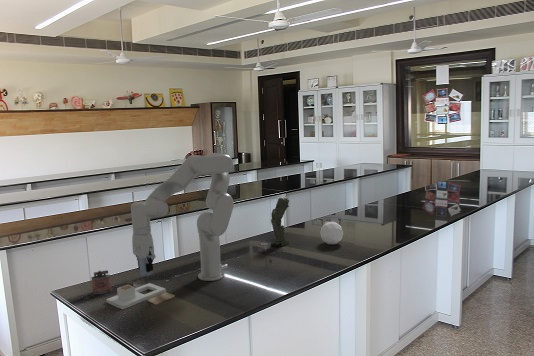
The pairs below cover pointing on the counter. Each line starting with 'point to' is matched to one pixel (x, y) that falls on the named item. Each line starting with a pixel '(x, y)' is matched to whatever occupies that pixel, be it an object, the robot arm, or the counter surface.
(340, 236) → the geodesic sphere
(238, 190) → the counter surface
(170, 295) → the pad
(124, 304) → the dock
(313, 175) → the counter surface
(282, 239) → the mechanical leg
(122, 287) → the brown egg
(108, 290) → the lighter
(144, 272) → the cylinder
